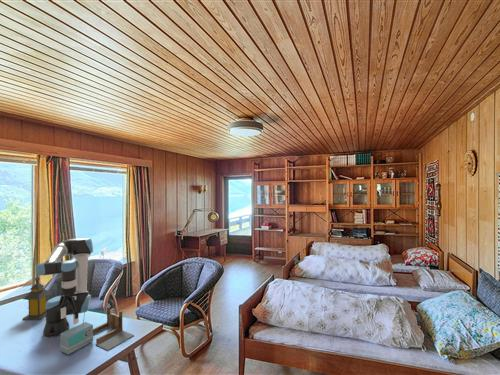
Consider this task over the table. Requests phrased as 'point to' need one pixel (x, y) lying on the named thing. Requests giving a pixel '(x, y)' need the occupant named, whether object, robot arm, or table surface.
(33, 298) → the lantern
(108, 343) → the rubber mat
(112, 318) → the shelf cradle
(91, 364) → the table surface
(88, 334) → the radio
